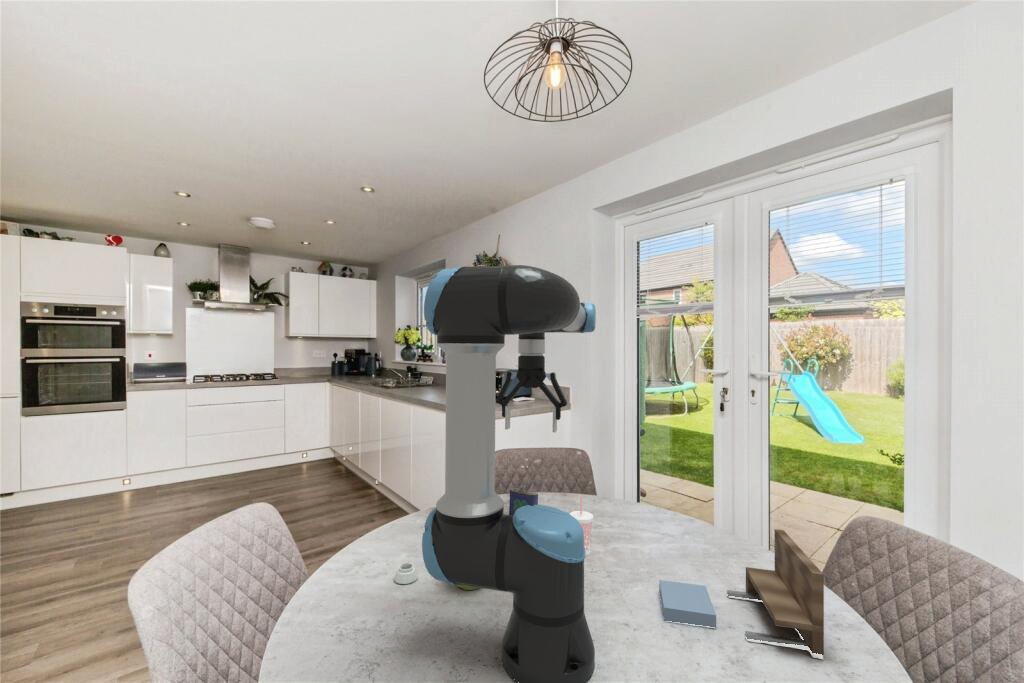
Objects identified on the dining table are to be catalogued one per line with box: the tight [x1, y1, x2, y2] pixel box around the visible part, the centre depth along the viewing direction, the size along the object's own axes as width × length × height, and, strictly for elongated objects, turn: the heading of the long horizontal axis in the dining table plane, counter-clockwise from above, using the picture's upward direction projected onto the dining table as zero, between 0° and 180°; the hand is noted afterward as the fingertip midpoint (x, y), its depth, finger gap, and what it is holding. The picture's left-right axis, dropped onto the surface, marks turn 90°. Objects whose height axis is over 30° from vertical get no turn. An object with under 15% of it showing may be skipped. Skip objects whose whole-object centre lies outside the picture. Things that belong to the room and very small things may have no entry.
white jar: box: [393, 562, 419, 585], centre depth 95 cm, size 5×3×5 cm
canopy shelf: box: [726, 528, 825, 656], centre depth 81 cm, size 18×11×14 cm, turn 166°
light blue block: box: [658, 579, 717, 629], centre depth 84 cm, size 10×9×3 cm
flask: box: [508, 484, 539, 515], centre depth 126 cm, size 9×3×11 cm, turn 61°
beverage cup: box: [568, 494, 594, 556], centre depth 108 cm, size 6×6×14 cm
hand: (530, 430), depth 122 cm, fingers open, 13 cm apart
